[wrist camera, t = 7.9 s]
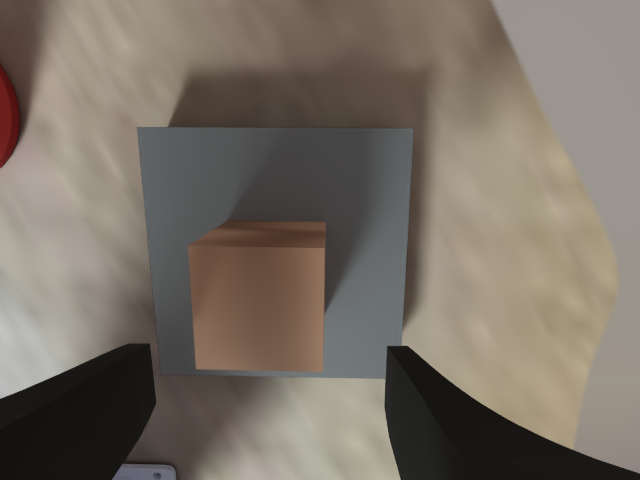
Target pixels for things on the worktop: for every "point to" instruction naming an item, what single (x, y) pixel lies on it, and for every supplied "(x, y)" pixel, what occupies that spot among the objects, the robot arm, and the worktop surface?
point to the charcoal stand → (284, 205)
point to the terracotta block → (259, 296)
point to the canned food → (7, 117)
